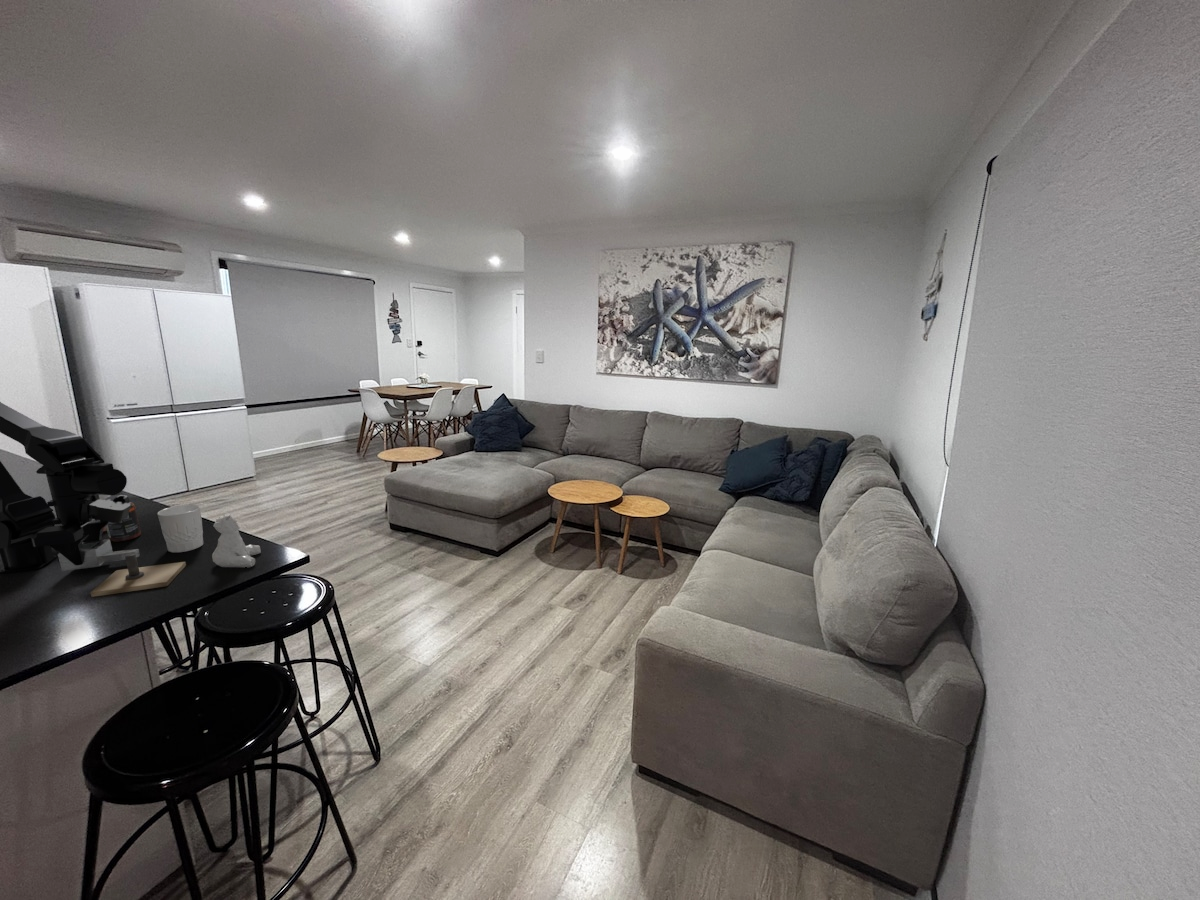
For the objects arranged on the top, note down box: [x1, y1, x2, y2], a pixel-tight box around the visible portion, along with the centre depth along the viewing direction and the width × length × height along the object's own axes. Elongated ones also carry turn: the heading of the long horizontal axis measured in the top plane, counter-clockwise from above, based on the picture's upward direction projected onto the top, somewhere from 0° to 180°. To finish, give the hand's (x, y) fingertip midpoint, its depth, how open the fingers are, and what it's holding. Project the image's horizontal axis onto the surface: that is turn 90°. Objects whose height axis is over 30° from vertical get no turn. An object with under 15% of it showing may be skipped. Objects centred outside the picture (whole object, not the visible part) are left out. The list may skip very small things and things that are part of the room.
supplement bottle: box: [105, 494, 142, 543], centre depth 120 cm, size 6×6×11 cm
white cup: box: [156, 504, 204, 553], centre depth 116 cm, size 8×8×10 cm
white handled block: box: [57, 538, 141, 572], centre depth 105 cm, size 12×6×4 cm, turn 114°
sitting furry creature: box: [211, 513, 261, 568], centre depth 108 cm, size 10×9×12 cm
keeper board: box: [90, 554, 187, 598], centre depth 100 cm, size 12×10×6 cm
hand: (87, 558), depth 104 cm, fingers closed on white handled block, 6 cm apart
